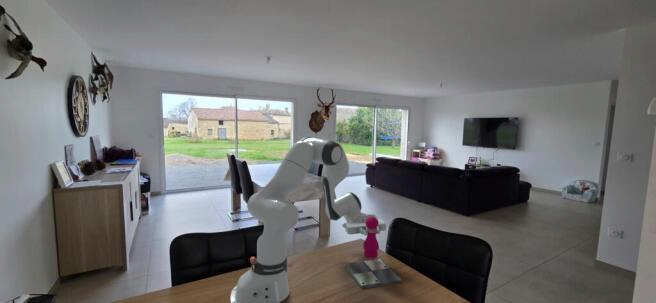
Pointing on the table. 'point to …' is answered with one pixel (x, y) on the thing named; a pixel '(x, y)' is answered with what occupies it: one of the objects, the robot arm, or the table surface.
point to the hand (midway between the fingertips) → (372, 233)
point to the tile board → (372, 273)
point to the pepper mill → (371, 238)
